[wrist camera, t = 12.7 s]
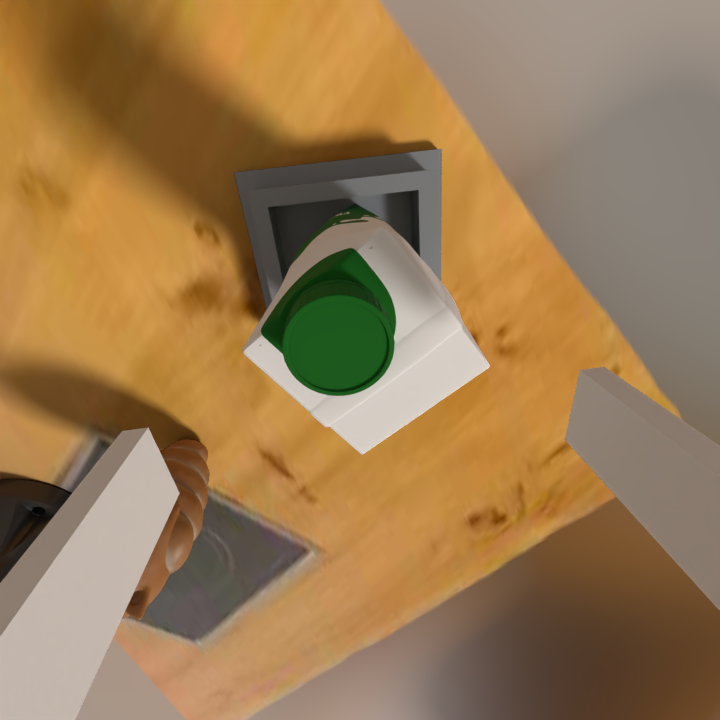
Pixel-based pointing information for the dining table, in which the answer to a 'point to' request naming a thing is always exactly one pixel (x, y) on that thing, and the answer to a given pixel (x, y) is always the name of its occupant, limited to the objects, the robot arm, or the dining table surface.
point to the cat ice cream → (175, 521)
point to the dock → (340, 205)
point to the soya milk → (363, 331)
